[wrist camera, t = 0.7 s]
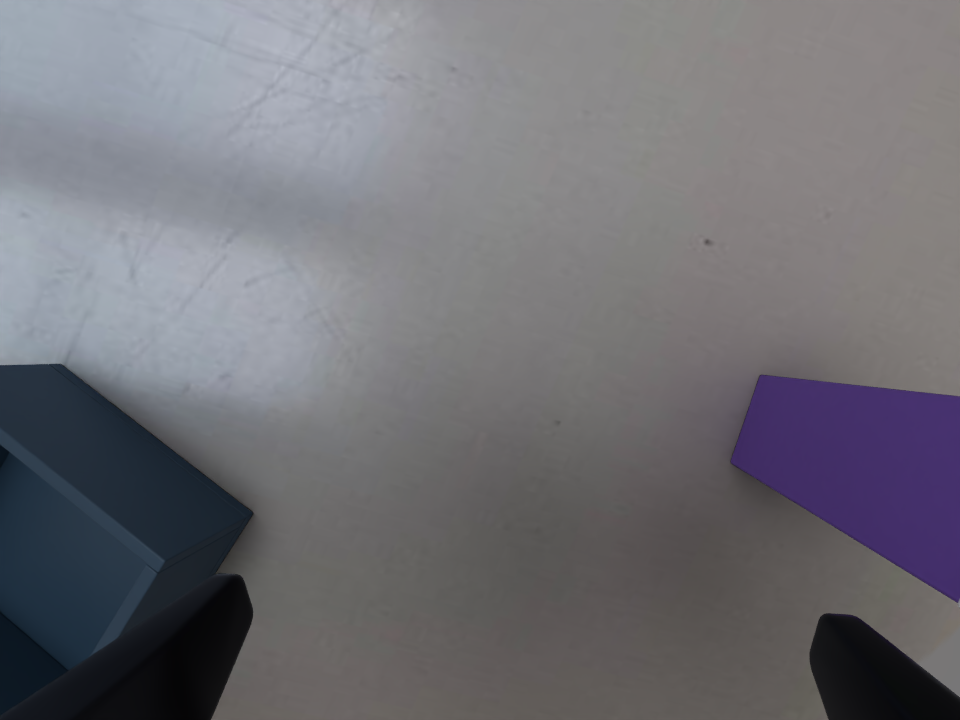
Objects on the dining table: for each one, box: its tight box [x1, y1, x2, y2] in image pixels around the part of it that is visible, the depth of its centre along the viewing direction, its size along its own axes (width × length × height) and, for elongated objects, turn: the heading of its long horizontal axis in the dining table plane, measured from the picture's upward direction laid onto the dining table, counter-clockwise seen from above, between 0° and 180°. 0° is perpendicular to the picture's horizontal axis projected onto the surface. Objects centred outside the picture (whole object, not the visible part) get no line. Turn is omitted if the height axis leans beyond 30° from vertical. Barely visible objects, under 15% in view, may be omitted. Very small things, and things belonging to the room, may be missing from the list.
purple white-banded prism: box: [731, 375, 960, 608], centre depth 14 cm, size 4×3×13 cm
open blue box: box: [0, 364, 253, 715], centre depth 23 cm, size 13×13×6 cm
